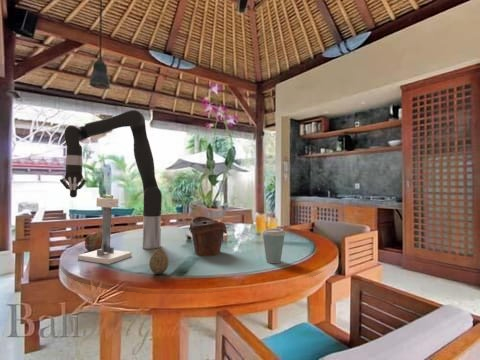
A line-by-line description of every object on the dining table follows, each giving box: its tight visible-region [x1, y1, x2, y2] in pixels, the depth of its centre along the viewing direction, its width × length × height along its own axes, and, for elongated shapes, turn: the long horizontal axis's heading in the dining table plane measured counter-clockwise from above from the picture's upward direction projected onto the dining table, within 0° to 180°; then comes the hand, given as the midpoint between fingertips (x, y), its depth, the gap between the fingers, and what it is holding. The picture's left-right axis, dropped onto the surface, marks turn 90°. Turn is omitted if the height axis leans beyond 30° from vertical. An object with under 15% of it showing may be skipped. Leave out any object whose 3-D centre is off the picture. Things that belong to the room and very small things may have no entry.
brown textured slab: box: [84, 231, 102, 251], centre depth 148 cm, size 15×3×8 cm, turn 179°
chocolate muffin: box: [188, 216, 228, 257], centre depth 144 cm, size 18×20×18 cm
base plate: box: [77, 246, 132, 265], centre depth 131 cm, size 18×14×4 cm
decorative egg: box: [149, 247, 169, 275], centre depth 110 cm, size 7×7×10 cm
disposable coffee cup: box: [261, 227, 286, 264], centre depth 130 cm, size 11×11×15 cm
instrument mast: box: [95, 194, 119, 253], centre depth 131 cm, size 8×5×26 cm, turn 70°
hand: (73, 197), depth 147 cm, fingers closed
